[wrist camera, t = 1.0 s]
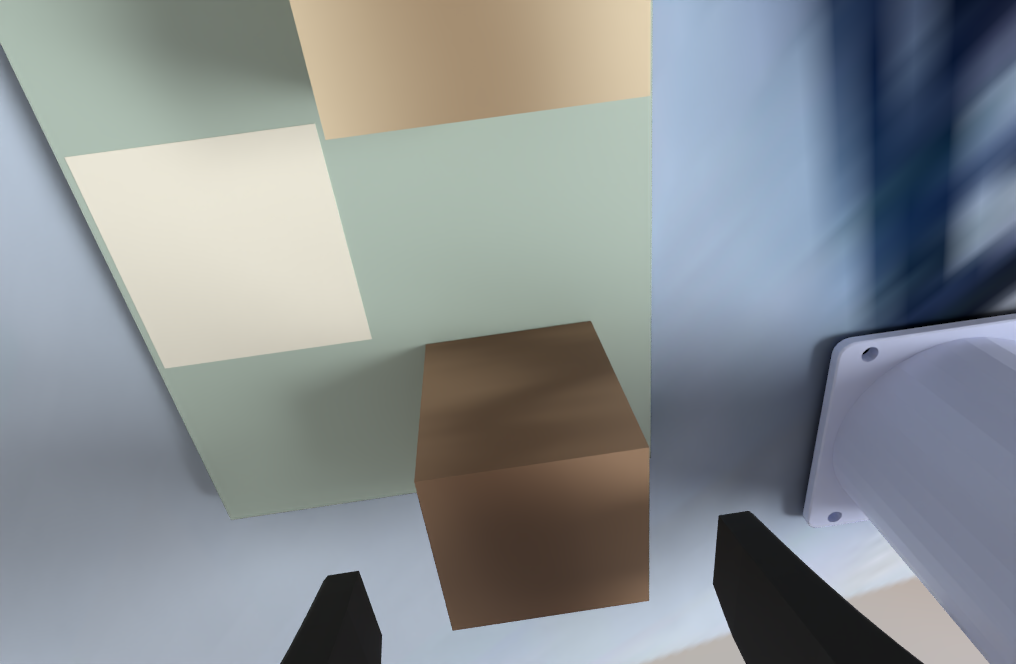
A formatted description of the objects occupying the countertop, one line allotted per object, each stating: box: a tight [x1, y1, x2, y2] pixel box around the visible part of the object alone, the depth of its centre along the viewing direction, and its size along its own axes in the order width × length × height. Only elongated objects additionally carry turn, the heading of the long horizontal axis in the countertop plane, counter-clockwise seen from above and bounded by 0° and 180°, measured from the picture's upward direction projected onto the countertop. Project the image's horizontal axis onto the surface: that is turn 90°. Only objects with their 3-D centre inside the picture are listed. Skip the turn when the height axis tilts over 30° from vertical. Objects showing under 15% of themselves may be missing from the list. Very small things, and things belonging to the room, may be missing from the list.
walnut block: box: [414, 321, 649, 631], centre depth 15 cm, size 5×5×5 cm
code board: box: [0, 0, 652, 520], centre depth 15 cm, size 14×17×1 cm
